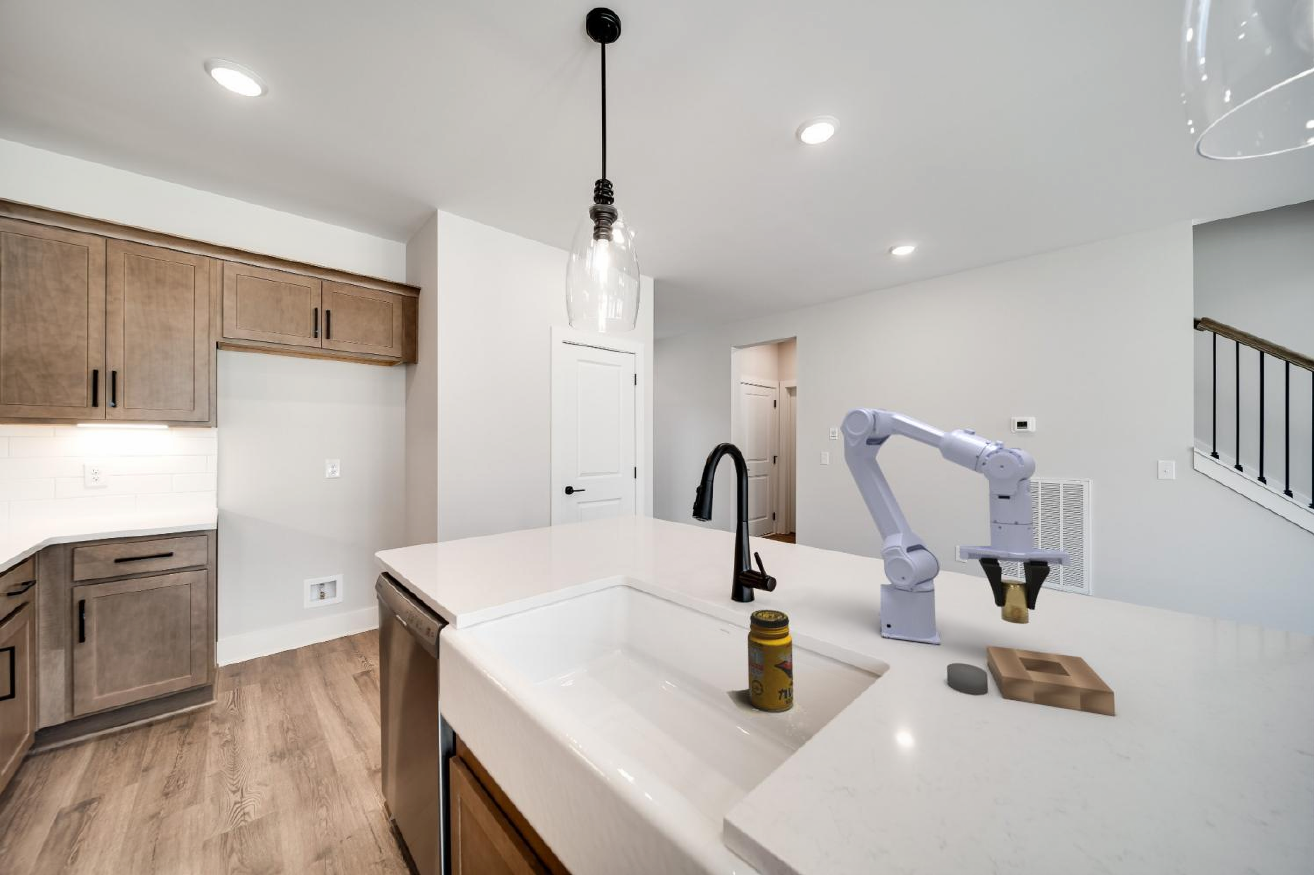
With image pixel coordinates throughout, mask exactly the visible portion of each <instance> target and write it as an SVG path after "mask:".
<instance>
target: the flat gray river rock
mask: <svg viewBox="0 0 1314 875" xmlns="http://www.w3.org/2000/svg"><path fill="white" fill-rule="evenodd" d="M946 673H947V674H946V675H947V676H946V678H947V682H946V683H947V685H948V687H950V689H952V690H954V691H956V692H959V693H962V694H966V695H971V696H984V695H986V694H988V693H989V686H988V685H989V682H988V681H989V680H988V673H987V671H986V670H984V669H983V668H981V667H978V666H976V665H973V664H967V663H962V662H961V663H960V662H955V663H953V662H952V663H949V664H947V666H946Z"/></svg>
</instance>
